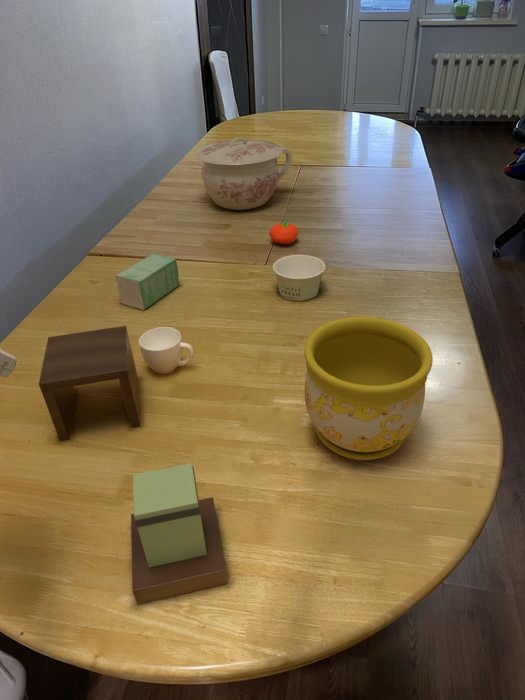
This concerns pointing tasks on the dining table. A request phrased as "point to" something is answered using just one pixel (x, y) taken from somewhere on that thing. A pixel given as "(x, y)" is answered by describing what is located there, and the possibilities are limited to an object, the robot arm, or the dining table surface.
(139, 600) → the brown square tile
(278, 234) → the pumpkin
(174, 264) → the box
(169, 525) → the block
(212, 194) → the chamber pot
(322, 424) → the flowerpot
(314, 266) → the food container
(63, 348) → the wooden stool
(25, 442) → the dining table surface
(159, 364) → the cup
